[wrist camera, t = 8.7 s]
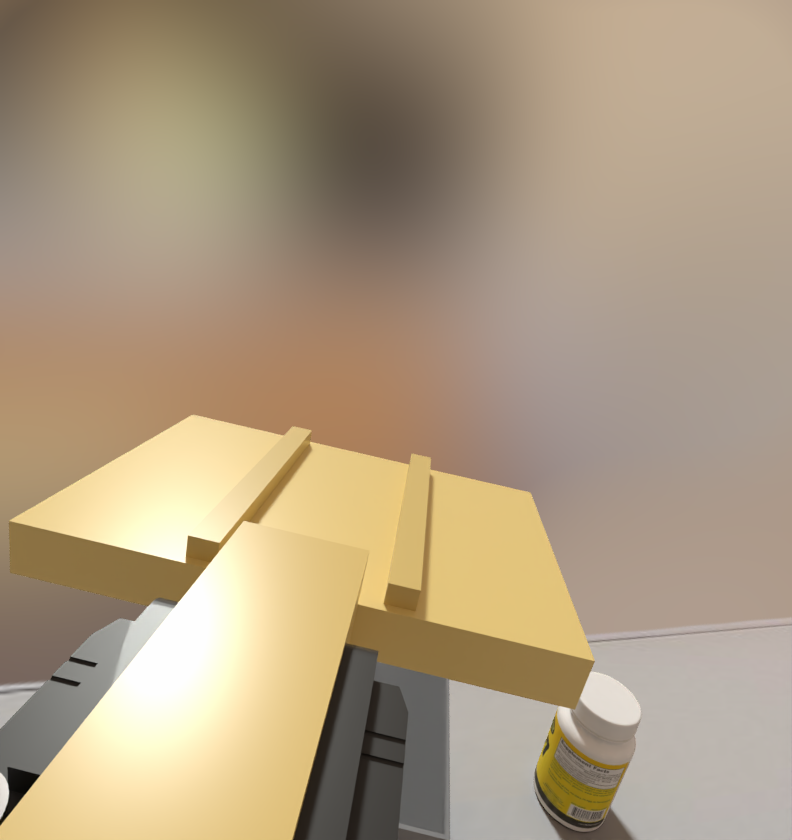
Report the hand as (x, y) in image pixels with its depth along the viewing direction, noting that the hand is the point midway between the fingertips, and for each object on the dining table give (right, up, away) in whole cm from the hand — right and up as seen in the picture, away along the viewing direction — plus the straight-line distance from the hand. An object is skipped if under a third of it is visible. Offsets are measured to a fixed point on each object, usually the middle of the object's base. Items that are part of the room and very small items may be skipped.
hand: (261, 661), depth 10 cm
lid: (0, -1, +3) cm, 3 cm away
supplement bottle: (+14, -20, +24) cm, 34 cm away
